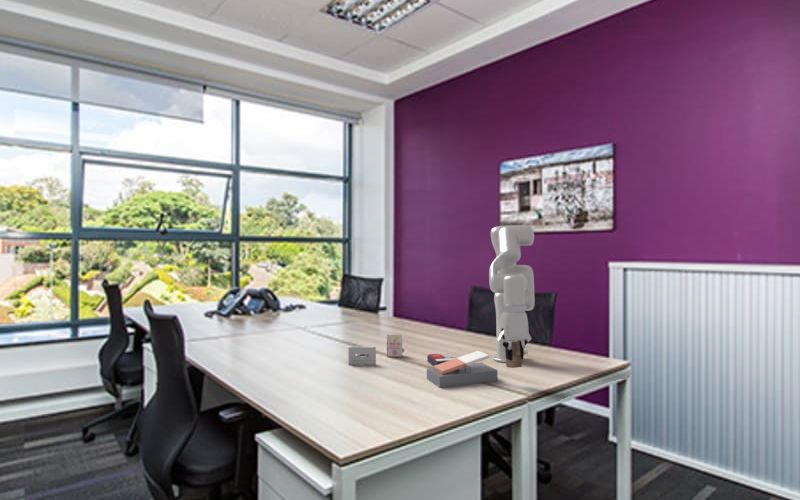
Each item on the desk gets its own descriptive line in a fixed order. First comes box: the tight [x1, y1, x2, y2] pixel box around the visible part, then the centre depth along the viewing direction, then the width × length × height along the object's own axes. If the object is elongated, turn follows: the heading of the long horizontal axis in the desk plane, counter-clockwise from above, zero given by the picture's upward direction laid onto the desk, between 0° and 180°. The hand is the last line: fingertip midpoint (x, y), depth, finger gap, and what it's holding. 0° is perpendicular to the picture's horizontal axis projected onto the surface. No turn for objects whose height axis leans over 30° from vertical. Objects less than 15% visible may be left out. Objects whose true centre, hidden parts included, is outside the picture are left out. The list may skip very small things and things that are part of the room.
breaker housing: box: [426, 362, 499, 389], centre depth 173 cm, size 24×12×6 cm, turn 109°
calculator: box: [426, 352, 458, 367], centre depth 195 cm, size 11×4×15 cm
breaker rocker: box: [433, 350, 490, 374], centre depth 173 cm, size 20×8×2 cm, turn 109°
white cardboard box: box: [386, 334, 403, 358], centre depth 211 cm, size 4×7×10 cm, turn 83°
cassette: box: [347, 346, 377, 366], centre depth 197 cm, size 12×2×8 cm, turn 87°
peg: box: [505, 341, 523, 369], centre depth 166 cm, size 4×4×9 cm
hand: (514, 358), depth 165 cm, fingers closed on peg, 4 cm apart
